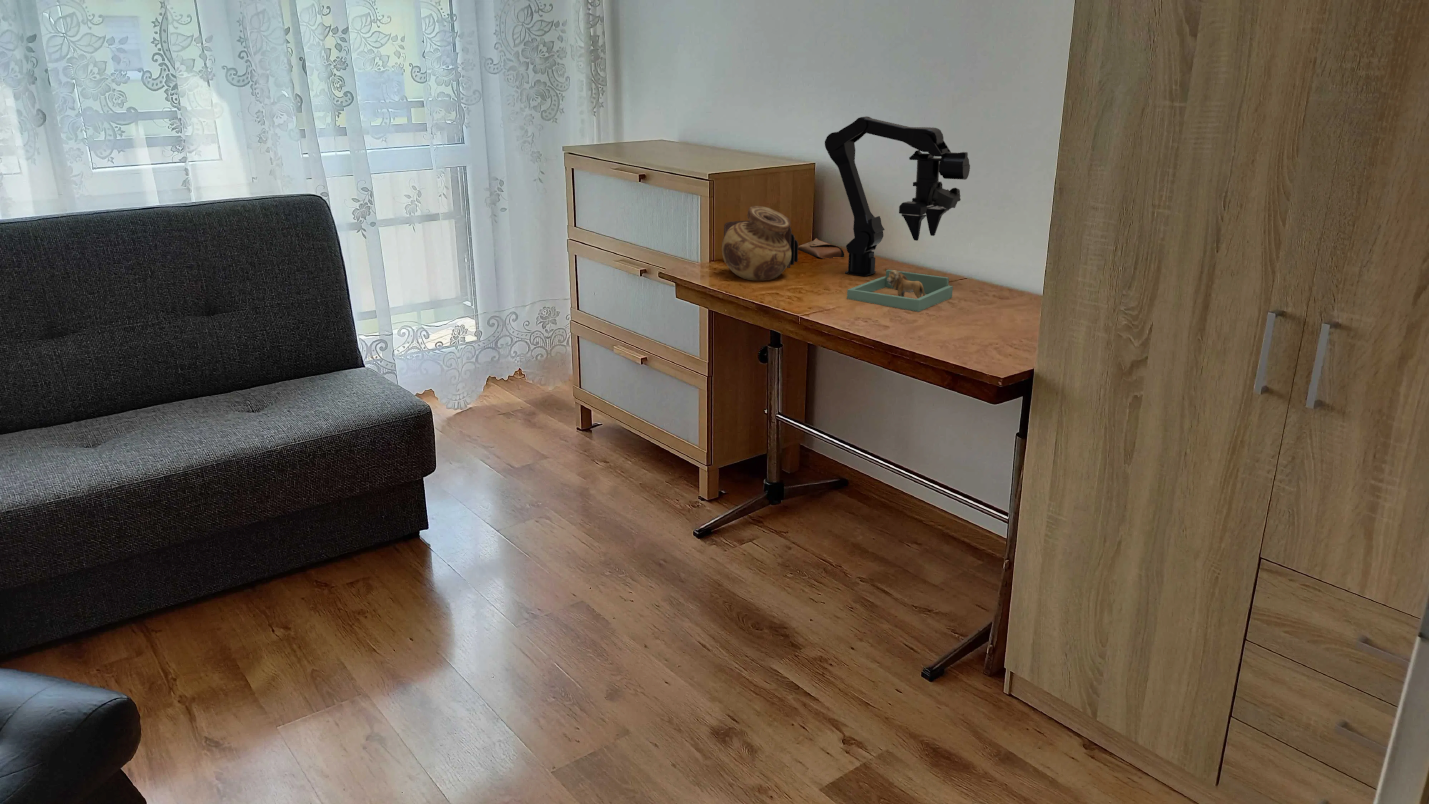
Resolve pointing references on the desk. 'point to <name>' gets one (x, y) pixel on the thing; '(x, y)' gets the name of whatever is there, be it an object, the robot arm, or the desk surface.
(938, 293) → the cold frame
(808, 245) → the sunglasses case
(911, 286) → the lion figurine
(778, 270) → the clay pot
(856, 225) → the robot arm
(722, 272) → the desk surface
